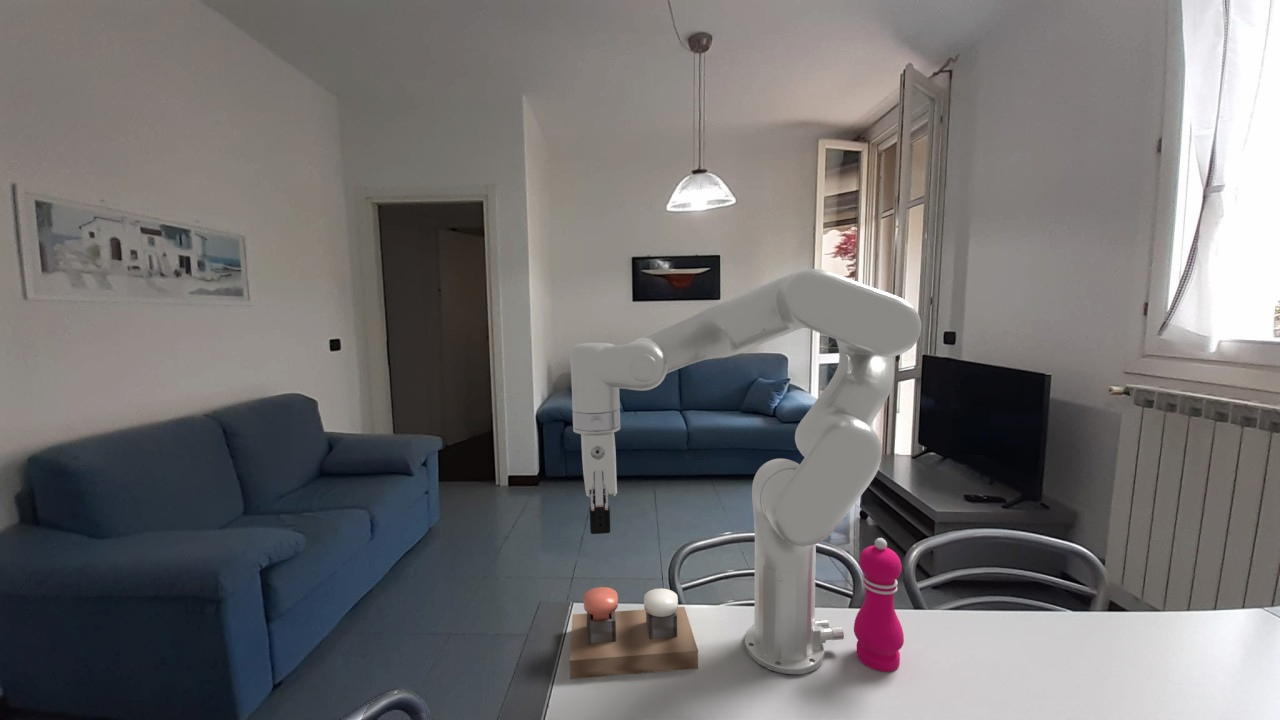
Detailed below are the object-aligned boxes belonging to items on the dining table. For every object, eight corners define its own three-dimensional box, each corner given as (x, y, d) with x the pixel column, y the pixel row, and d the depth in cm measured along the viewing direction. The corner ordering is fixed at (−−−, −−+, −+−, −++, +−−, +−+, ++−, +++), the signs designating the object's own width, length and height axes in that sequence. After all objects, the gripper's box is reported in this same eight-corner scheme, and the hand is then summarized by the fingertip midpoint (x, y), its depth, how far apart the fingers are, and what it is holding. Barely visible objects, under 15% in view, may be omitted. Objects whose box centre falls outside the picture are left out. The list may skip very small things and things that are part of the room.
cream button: (675, 616, 87) (674, 587, 87) (680, 636, 82) (680, 606, 81) (643, 618, 87) (642, 589, 86) (646, 639, 81) (645, 608, 81)
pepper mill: (909, 677, 76) (913, 550, 75) (858, 671, 78) (861, 547, 76) (895, 646, 83) (898, 530, 82) (849, 641, 85) (851, 527, 83)
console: (684, 622, 91) (684, 588, 90) (698, 668, 79) (697, 629, 78) (573, 630, 89) (572, 595, 88) (569, 679, 77) (568, 638, 77)
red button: (617, 615, 86) (616, 586, 86) (619, 635, 81) (618, 604, 80) (584, 617, 86) (583, 588, 85) (584, 638, 80) (583, 607, 80)
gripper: (622, 429, 73) (626, 551, 75) (617, 410, 88) (621, 512, 89) (570, 432, 72) (575, 554, 74) (574, 412, 87) (578, 515, 89)
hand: (600, 531), depth 82 cm, fingers closed
